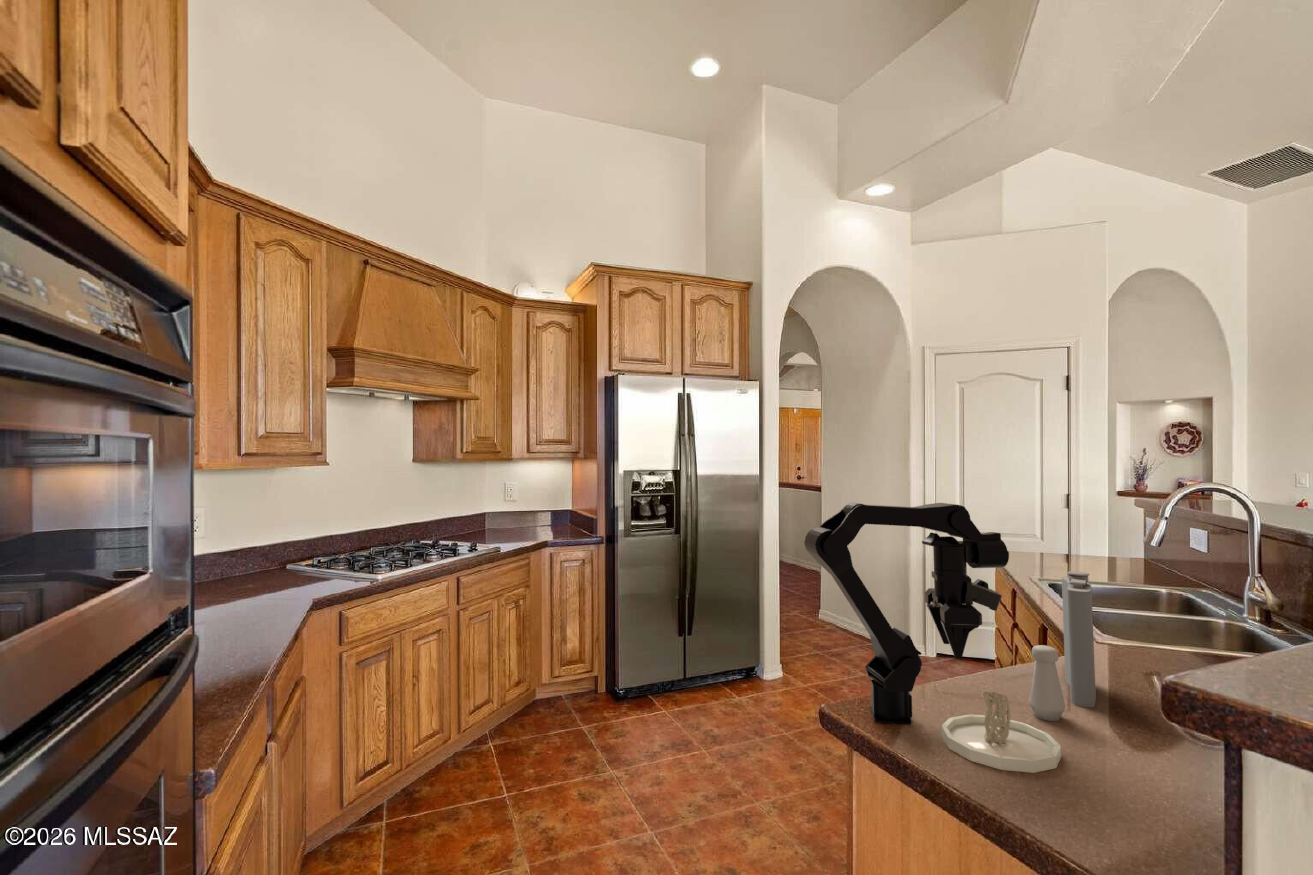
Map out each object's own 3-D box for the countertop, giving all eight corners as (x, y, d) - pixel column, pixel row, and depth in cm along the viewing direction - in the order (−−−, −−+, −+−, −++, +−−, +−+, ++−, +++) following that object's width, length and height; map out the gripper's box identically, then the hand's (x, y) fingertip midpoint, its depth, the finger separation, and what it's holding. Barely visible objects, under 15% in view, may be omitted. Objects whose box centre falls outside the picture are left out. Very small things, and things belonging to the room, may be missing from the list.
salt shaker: (1071, 724, 111) (1068, 652, 112) (1036, 721, 112) (1034, 650, 113) (1057, 711, 117) (1054, 643, 118) (1024, 709, 118) (1022, 641, 119)
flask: (1100, 709, 118) (1095, 579, 119) (1071, 704, 120) (1067, 577, 122) (1090, 681, 133) (1085, 566, 134) (1064, 677, 135) (1060, 564, 137)
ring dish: (958, 765, 96) (958, 754, 96) (933, 721, 113) (933, 711, 113) (1079, 776, 93) (1078, 764, 93) (1034, 729, 109) (1034, 718, 109)
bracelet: (982, 747, 101) (981, 699, 101) (985, 730, 108) (984, 684, 108) (1010, 753, 99) (1008, 703, 99) (1011, 735, 106) (1009, 688, 106)
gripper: (1012, 579, 106) (1015, 669, 106) (981, 562, 125) (983, 639, 124) (943, 576, 109) (946, 665, 108) (923, 560, 127) (925, 636, 126)
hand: (952, 650), depth 117 cm, fingers open, 9 cm apart
